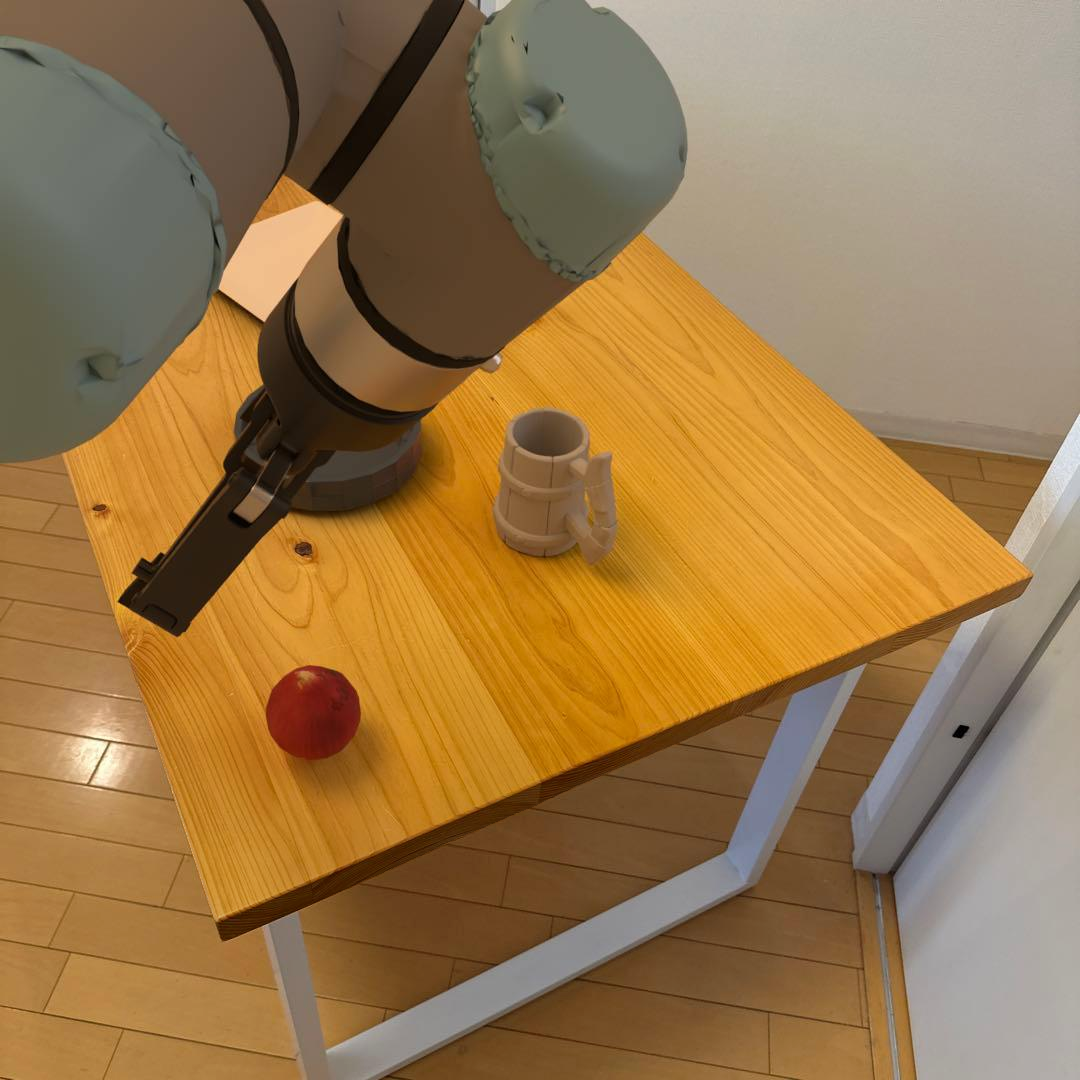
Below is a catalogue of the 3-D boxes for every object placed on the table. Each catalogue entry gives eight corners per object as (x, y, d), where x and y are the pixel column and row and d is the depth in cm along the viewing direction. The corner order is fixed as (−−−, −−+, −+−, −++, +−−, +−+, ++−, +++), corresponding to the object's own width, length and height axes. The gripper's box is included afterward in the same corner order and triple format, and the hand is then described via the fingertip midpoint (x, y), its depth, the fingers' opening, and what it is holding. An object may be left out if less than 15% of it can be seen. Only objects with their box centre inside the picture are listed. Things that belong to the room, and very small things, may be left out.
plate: (282, 349, 97) (279, 331, 95) (174, 270, 105) (170, 252, 104) (428, 282, 107) (427, 265, 105) (319, 215, 115) (317, 198, 114)
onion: (334, 694, 69) (324, 619, 64) (381, 751, 66) (374, 679, 61) (258, 737, 66) (240, 664, 61) (303, 799, 63) (288, 728, 58)
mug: (544, 481, 86) (555, 366, 77) (640, 562, 80) (663, 447, 71) (473, 518, 82) (476, 401, 74) (568, 606, 76) (583, 490, 68)
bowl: (233, 521, 80) (225, 484, 77) (249, 403, 91) (243, 366, 88) (424, 515, 82) (423, 478, 79) (419, 400, 93) (418, 364, 90)
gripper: (325, 635, 35) (152, 738, 51) (540, 213, 49) (351, 398, 65) (131, 515, 33) (12, 664, 49) (416, 106, 47) (251, 326, 62)
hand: (206, 512), depth 57 cm, fingers open, 13 cm apart
